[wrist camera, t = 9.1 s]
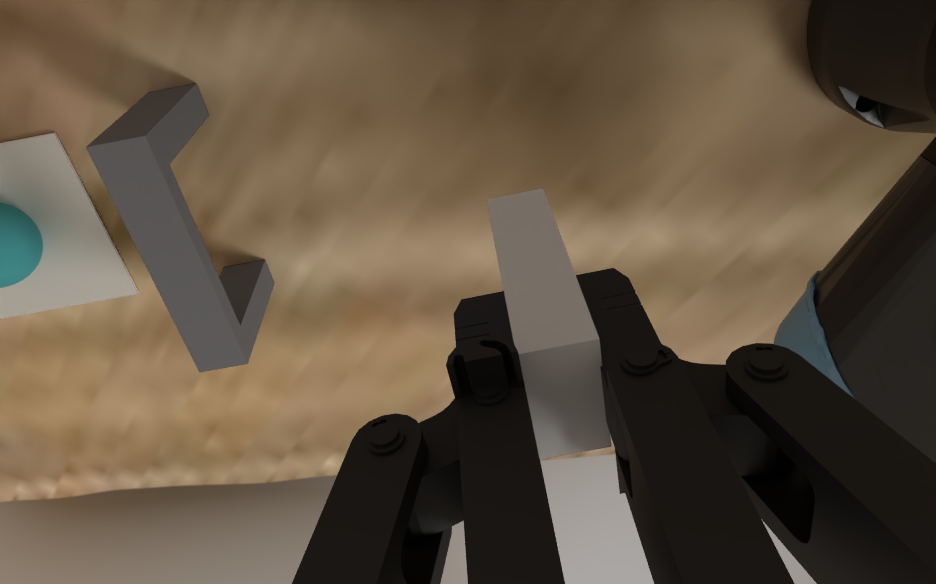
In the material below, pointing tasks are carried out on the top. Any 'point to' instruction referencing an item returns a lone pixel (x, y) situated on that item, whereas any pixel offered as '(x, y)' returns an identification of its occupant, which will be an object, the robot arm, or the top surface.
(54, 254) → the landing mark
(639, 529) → the robot arm
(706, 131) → the top surface
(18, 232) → the ball
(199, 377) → the top surface
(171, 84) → the top surface
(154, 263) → the bridge
